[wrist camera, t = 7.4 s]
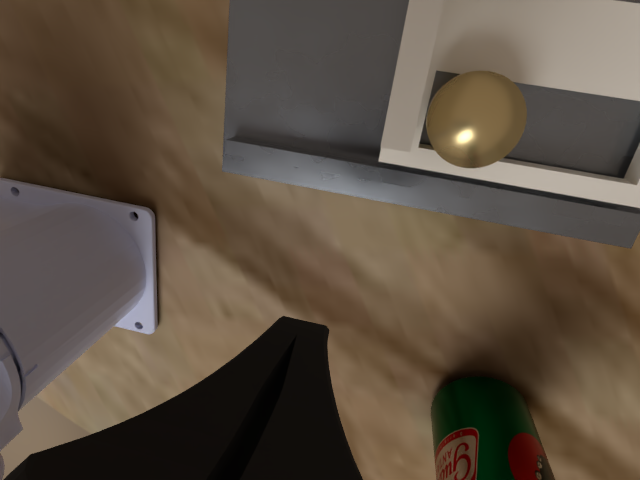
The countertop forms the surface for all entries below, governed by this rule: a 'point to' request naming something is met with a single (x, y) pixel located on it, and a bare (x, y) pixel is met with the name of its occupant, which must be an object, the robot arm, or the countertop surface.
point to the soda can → (485, 433)
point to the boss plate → (438, 130)
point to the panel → (516, 76)
